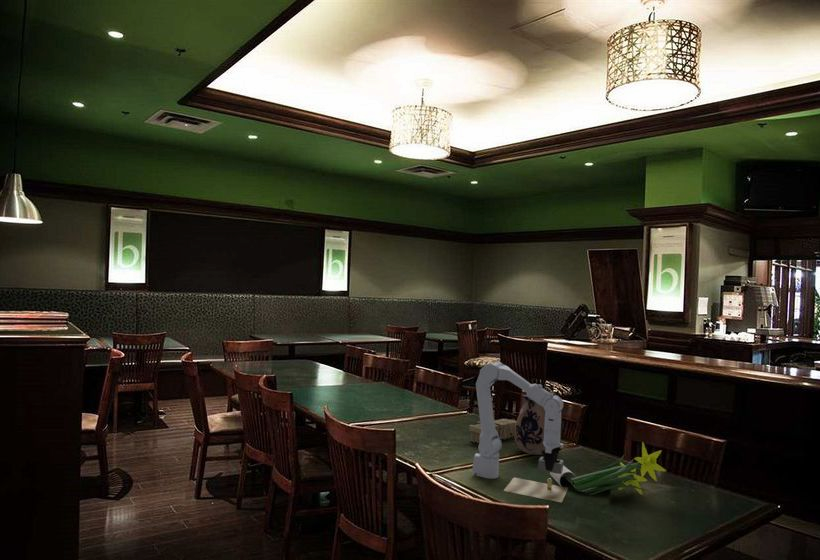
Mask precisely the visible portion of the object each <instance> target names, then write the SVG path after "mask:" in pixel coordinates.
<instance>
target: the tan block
mask: <svg viewBox="0 0 820 560" xmlns="http://www.w3.org/2000/svg"><path fill="white" fill-rule="evenodd" d="M516 422H517V420H513V419H506V418H500V419H497V420H494V423H495V429H496V430H497V432H498V436H499V438H500V439H503V438H506V437H510V435H511V436H514V431H515V425H516ZM468 428H469V429H468V431H470V442H471V441H473V442H472V443H475V442H477V443H480V439H479V437H480V434H481V423H477V424H470V425H469V427H468ZM510 438H511V437H510ZM477 443H476V444H477Z"/></svg>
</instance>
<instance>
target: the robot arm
mask: <svg viewBox="0 0 820 560" xmlns="http://www.w3.org/2000/svg"><path fill="white" fill-rule="evenodd" d="M497 381H508V382H510V383H512V384H513V385H515V386H517V387H518V388H519V389H522V391H524V392H525V393H526V394H527V396H528V397H529V398H530V399H532V400H533V401H535V402H536V403H538V404H539V405H540V406H542V407H544V410H545V411H546V413H545V426H544V441H543V445H544V446H545V449H542V450H541V452H542V457H544V461H545V468H546V470H548V471H552V470H553V466H554V461H555V459H558V456H559V452H560V451H561V449H562V448H563V447H564V443H563V442H561V434H562V433H561V432H562V431H561V430H562V429H561V428H562V410H563V409H564V400H563V399H562V398H561V397H560V396H559V395H556V394H555V395H554V392H549V391H547V390H546V389H545V388H543V385H542V384H539V383H538V384H537V383H530V382H529V381H527V380H526V379H525V378H524V377H522V376H521V375H520V374H518V373H517V372H515V371H514V370H513V369H511V368H510V367H509V366H508V365H506V364H504V363H502V362H501V361H493V362H491V363H486V364H484V365H483V366H482V367H481V369H479V374H478V376H477V380H476V382H475V387H476V388H475V390H476V398H477V406H478V414H479V422H480V423H479V424H481V434H480V437H479V439H480V443H479V444H478V446H477V447H478V452H479V453H477V452H476V453H475V454H474V456H473V461H472V462H473V463H472V475H471V476H472V477H474V476H477V477H481V478H485V479H491V480H492V479H497V478H499V469H500V468H499V467H500V453H499V452H500V450H501V449H502V446H503V442H502V440H500V438H499V436H498V432H497V430H496V429H495V423H494V421H495V418H494V417H495V416H494V415H495V414H494V410H493V409H494V408H493V400H492V393H491V387H492V385H493V384H495V382H497Z"/></svg>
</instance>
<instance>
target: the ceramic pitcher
mask: <svg viewBox="0 0 820 560" xmlns="http://www.w3.org/2000/svg"><path fill="white" fill-rule="evenodd" d="M521 397H522V405H521V408H520V411H519V413H518V417H517V419H516V421H517V422H516V425H515V431H514V437H513V438H514V441H515V443H516V446H517V447H518V449H520V450H521V451H522V452H523V453H525V454H529V455H536V456H539V455H540V456H543V454H542V452H541V450H542V449H545V446H544V445H543V441H544V426H545V413H546V411H545V410H544V407H542V406H540V405H539V404H538V403H536V402H535V401H533V400H532V399H530V398H529V397H528V396H527V393H526V394H521Z"/></svg>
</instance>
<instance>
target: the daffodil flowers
mask: <svg viewBox="0 0 820 560" xmlns="http://www.w3.org/2000/svg"><path fill="white" fill-rule="evenodd" d="M661 454H662V450H661V449H660V450H657V451H654V452H652V453H651V454H648V451H647V449H646V446H645V443H644V442H643V441H642V442H641V456H636V457H634V458H633V459H631V460H630V461H629V462H628V463H627V464H625V463H623V462H622V461H623V459H624V457H625V455H623V456H622V457H621V458H620V459H619V460H617V461H615V462H613V463H611V464H610V465H607V466H605V467H601V468H600V469H597V470H596V471H593V472H590V473H586V474H583V475H580V476H576V478H572V479H571V480H572V482H573V483H570V485H571V487H572V486H573V485H575V486H573V489H574V491H575V492H578V493H579V492H583V493H586V494H588V495H589V496H590V495H596V494H599V493H602V492H605V491H607V490H610V489H618V490H617V491H619V490H620V491H622V490H624V489H625V488H634V490H636V491H637V492H638V493H639V495H641V496H642V495H643V491H644V488H642V487H641V485H640V484H639V482H640V483H641V482H647V481H648V480H647V478H645V477H644V476H645V474H646V473H648V475H649V476H650V477H651V478H652V480H654V481H655V482H657V481H658V480H657V476H656V472H655V471H658V472H667V470H666V468H664V467H662V466H661V465H659V464H658V463H657V459H658V458H659V456H660V455H661ZM634 460H635V461H637V462H634ZM633 462H634V463H633ZM639 467H640V468H639ZM637 470H640V474H641V475H638V474H639V473H638V472H637ZM618 482H619V483H618ZM576 485H577V486H576Z"/></svg>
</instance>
